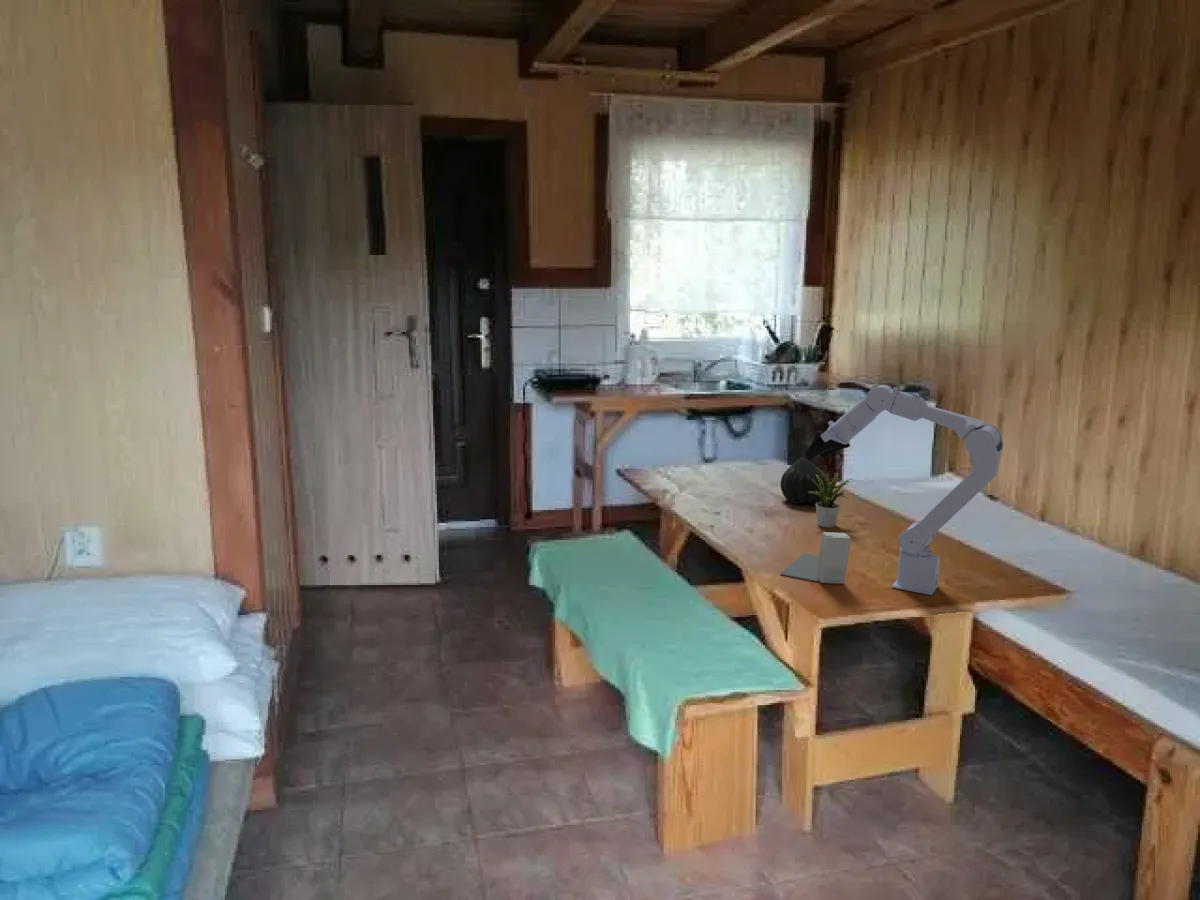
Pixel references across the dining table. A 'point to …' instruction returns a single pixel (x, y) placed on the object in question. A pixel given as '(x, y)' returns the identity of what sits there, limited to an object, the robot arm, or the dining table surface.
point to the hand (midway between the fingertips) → (814, 456)
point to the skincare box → (833, 557)
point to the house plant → (828, 501)
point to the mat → (803, 568)
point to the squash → (802, 482)
